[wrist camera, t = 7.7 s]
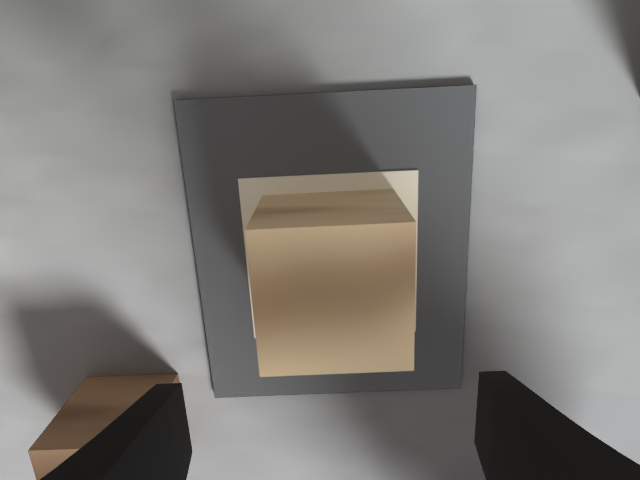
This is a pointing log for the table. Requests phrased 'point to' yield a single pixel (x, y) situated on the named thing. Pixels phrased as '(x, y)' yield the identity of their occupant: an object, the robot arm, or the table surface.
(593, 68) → the table surface
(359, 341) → the oak block
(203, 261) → the gray rectangular panel
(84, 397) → the walnut block
